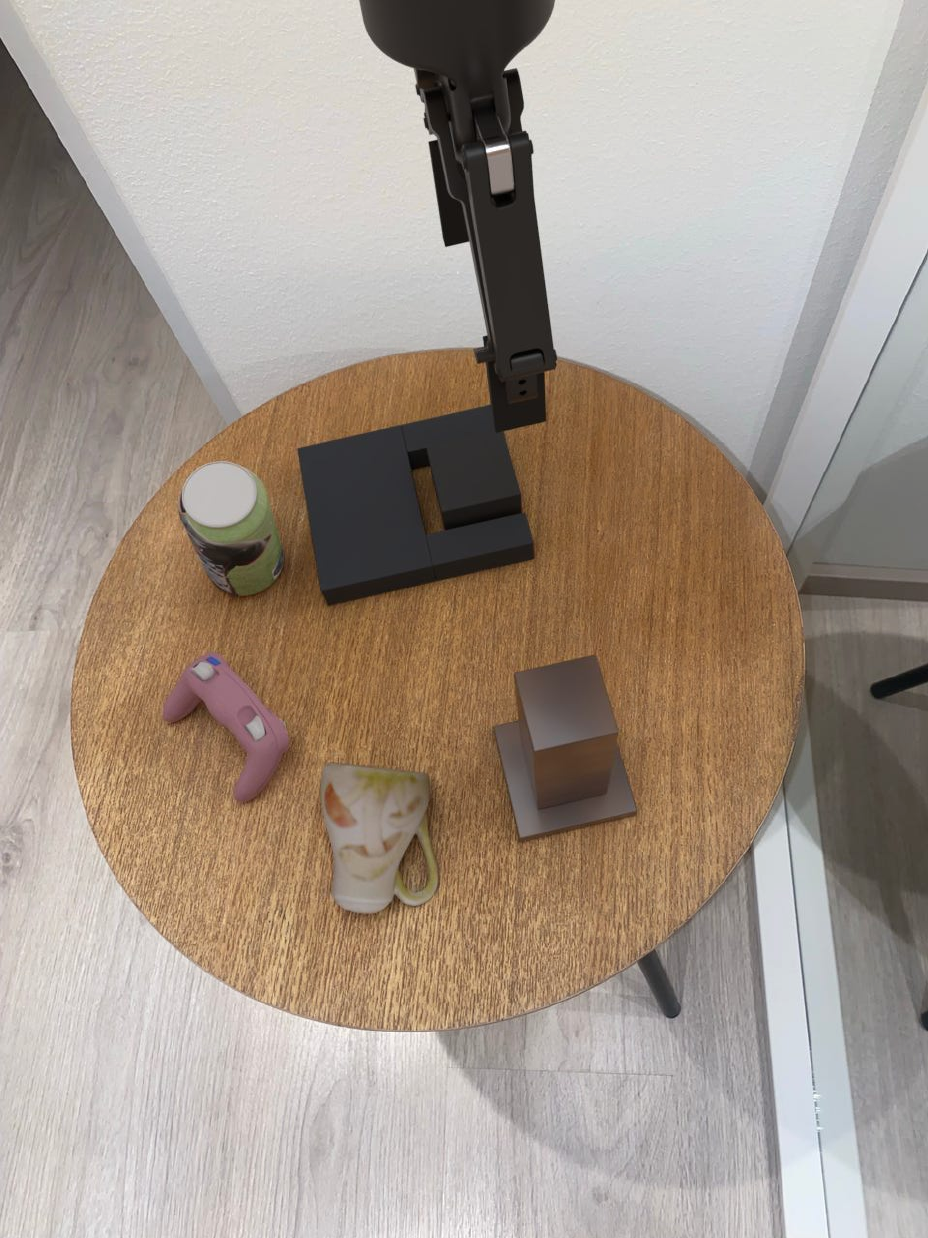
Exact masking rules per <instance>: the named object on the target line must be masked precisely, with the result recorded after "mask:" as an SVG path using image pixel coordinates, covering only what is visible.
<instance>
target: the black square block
mask: <svg viewBox="0 0 928 1238" xmlns="http://www.w3.org/2000/svg"><path fill="white" fill-rule="evenodd" d="M426 449H427V454H428V459H429V463H430V465H429V468H430V473H431V477H432V482H433V486H434V490H435V495H436V500H437V502H438V503H437V504H438V507H439V511H440V516H441V520H442V524H443V529H444V531H445V530H450V529H454V528H459V527H463V526H467V525H472V524H476V523H481V522H485V521H489V520H494V519H498V518H503V517H507V516H511V515H516V514H520V513H523V506H522V505H523V503H522V492H521V489H520V486H519V482H518V478H517V474H516V471H515V467H514V464H513V460H512V457H511V453H510V449H509V446H508V442H507V439H506V435H505V431H503V432H498V433H496V432H495V431H493V432H489V433H484V434H480V435H475V436H471V437H467V438H462V439H458V440H453V441H449V442H445V443H440V444H436V445H431V446H427V447H426Z"/></svg>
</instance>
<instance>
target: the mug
mask: <svg viewBox="0 0 928 1238" xmlns="http://www.w3.org/2000/svg"><path fill="white" fill-rule="evenodd" d="M430 796H431V779H430V773H428V772H421V771H414V770H405V769H399V768H398V769H397V768H391V767H383V766H382V767H381V766H371V765H364V764H363V765H362V764H353V763H342V762H341V763H340V762H328V763H326V764H325V765H324V766H323V767H322V772H321V777H320V782H319V799H320V806H321V811H322V815H323V819H324V823H325V826H326V830H327V834H328V838H329V841H330V846H331V849H332V857H333V870H332V871H333V873H332V874H333V876H332V883H331V890H330V894H331V897H332V898H333V899H334V902H336V905H338V906H339V907H340V908H342V909H344V910H346V911H348V912H352V913H357V914H377V913H379V912H381V911H382V910H384V909H386V907H387V906H389V904H390V903H391V902H392V901H393V900H394V899H393V898H394V896H396V897H397V898H398V899H399V900H400V901H401V902H402V903H403V904H404V905H407V906H409V907H418V906H421V905H423V904H425V903H427V902H428V901H429V900H430V899H432V897H433V896H434V895H435V893H436V891H437V888H438V885H439V877H440V876H439V865H438V861H437V857H436V855H435V851H434V848H433V843H432V840H431V835H430V832H429V831H430V830H429V813H428V811H427V809H428V806H429V801H430ZM414 835H416V836H417V838H418V841H419V844H420V847H421V850H422V852H423V856H424V859H425V862H426V866H427V872H428V877H427V883H426V885H425V886H424V887H423V888H422V889H421V890H418V891H413V890H409V889H408V888H407V887H406V886H405V884H404V880H403V876H402V873H401V870H400V869H399V866H400V863H401V861H402V859H403V857H404V855H405V853H406V851H407V849H408V847H409V845H410V844H411V842H412V840H413V839H414V838H413V837H414Z"/></svg>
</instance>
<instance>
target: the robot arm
mask: <svg viewBox="0 0 928 1238" xmlns="http://www.w3.org/2000/svg"><path fill="white" fill-rule="evenodd" d="M358 1H359V7H360V12H361V17H362V22H363V25H364V28H365V31H366V33H367V35H368V37H369V38H370V40H371V41H372V43H373V44H374V46H376V48H377V49H378V50H379V51H380V52H382V53H383V54H384V55H385V56H386V57H388V58H389V59H391V60H392V61H395V62H396V63H398V64H401V65H402V66H405V67H408V68H411V69H413V72H414V77H415V82H416V83H415V84H414V86H415V93H416V96H418V97H419V99H420V102H421V103H422V104H424V112H423V118H422V120H423V125H424V129H426V130H427V131H428V135H429V136H433V135H434V137H435V138H436V139H433V140H429V141H428V143H427V144H428V149H429V154H430V155H429V157H430V163H431V170H432V175H433V182H434V188H435V189H434V190H435V195H436V202H437V208H438V215H439V222H440V229H441V235H442V241H443V244H444V247H445V248H449V247H453V246H457V245H461V244H465V243H469V247H470V251H471V257H472V263H473V267H474V273H475V278H476V282H477V288H478V294H479V299H480V304H481V309H482V314H483V319H484V325H485V329H486V335H483V336H482V342H483V346H480V347H476V348H473V354H474V358H475V362H476V364H477V365H480V364H484V363H485V368H486V377H487V384H488V385H487V386H488V394H489V402H490V405H491V412H492V420H493V425H494V429H495V432H496V433H498V432H503V431H504V432H508V431H511V430H515V429H520V428H525V427H529V426H533V425H538V424H542V423H546V422H547V401H546V400H547V399H546V398H547V397H546V374H545V373H546V372H549V371H555V370H556V368H557V361H558V355H557V351H556V348H555V346H554V340H553V334H552V333H553V331H552V324H551V317H550V310H549V309H550V308H549V300H548V293H547V286H546V284H547V283H546V277H545V269H544V261H543V253H542V246H541V238H540V237H541V236H540V231H539V230H540V229H539V224H538V223H539V222H538V215H537V207H536V199H535V186H534V173H533V171H534V170H533V157H532V156H533V155H534V153H535V152H534V151H535V150H534V144H533V141H532V139H530V136H529V133H528V132H527V130H525V129H524V130H523V125H522V120H521V119H522V118H521V117H522V114H523V112H524V109H525V100H524V93H523V87H522V83H521V77H520V72H519V70H518V68H517V67H514V68H510V69H506V68H507V67H508V65H509V64H510V63H511V62H512V61H513V59H515V57H516V56H517V55H518V54H520V53H521V52H522V51H523V50H524V49H525V48H527V47H529V46H530V45H531V44H532V42H534V41H535V40H536V39H537V38H538V37H539V36H540V35H541V33H542V32H543V30H544V29H545V28H546V26H547V24H548V23H549V21H550V20H551V17H552V14H553V11H554V8H555V3H556V0H358Z"/></svg>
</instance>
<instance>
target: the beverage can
mask: <svg viewBox="0 0 928 1238" xmlns="http://www.w3.org/2000/svg"><path fill="white" fill-rule="evenodd" d="M177 513H178V517H179V520H180V522H181V524H182V526H183V528H184V531H185V532H186V534H187V537H188V538H189V540H190V543H191V545H192V547H193V549H194V551H195V553H196V555H197V556H198V559H199V561H200V563H201V565H202V567H203V569H204V571H205V573H206V576H207V578H208V579H209V580H210V582H211V584H213V585H214V586H215V587H216V588H217V589H219V590H220V591H222V592H224V593H226V594H229V595H234V596H252V595H254V594H258V593H260V592H263V591H264V590H266V589H268V588H269V587H270V586H272V585H273V584H274V583H275V582H276V581H277V579H278V578H279V577H280V574H281V573H282V570H283V567H284V563H285V551H284V548H283V545H282V541H281V537H280V533H279V530H278V527H277V523H276V520H275V517H274V513H273V509H272V506H271V503H270V498H269V495H268V492H267V489H266V486H265V485H264V483H263V481H261V479H260V478H259V476H257V475H256V474H255V473H254V472H252V471H251V470H249V469H248V468H246V467H244V466H241V465H239V464H237V463H234V462H230V461H223V460H221V461H212V462H207V463H206V464H203V465H201V466H199V467H197V468H196V469H195V470H194V471H193V472H191V474H189V476H188V477H187V479H186V480H185V482H184V484H183V486H182V488H181V489H180V492H179V495H178V500H177Z"/></svg>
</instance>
